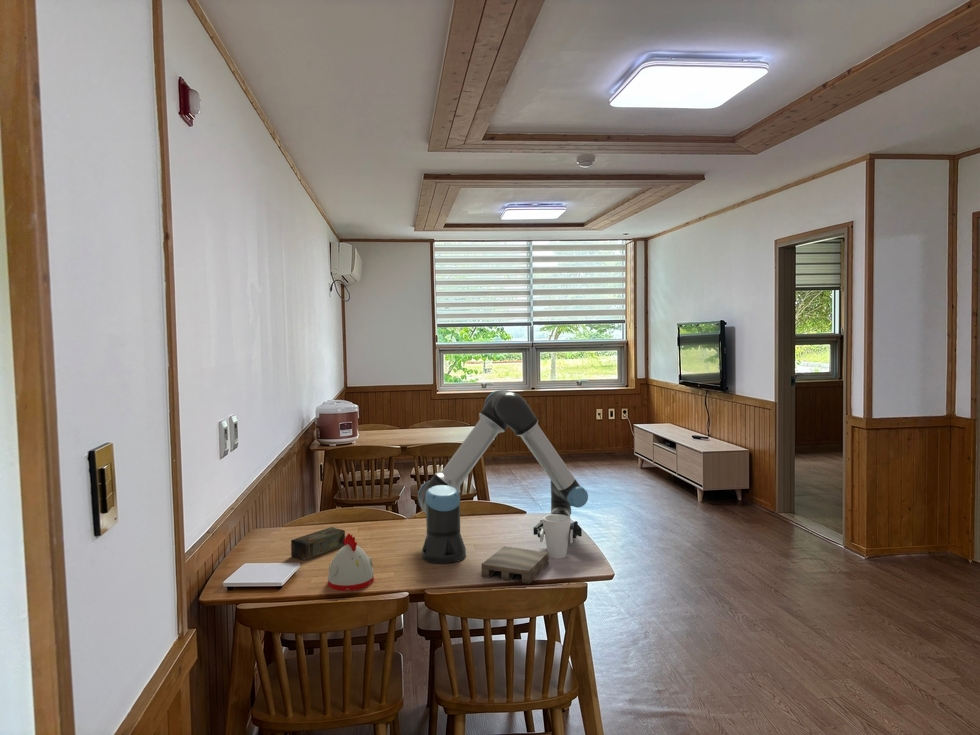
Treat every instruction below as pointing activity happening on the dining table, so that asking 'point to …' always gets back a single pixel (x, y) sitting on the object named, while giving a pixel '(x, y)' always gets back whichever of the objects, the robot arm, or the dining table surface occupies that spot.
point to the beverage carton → (317, 543)
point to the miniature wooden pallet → (516, 563)
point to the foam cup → (556, 534)
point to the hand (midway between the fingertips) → (556, 538)
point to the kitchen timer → (350, 567)
